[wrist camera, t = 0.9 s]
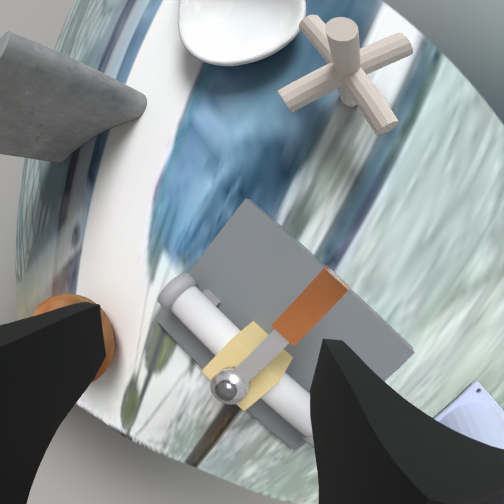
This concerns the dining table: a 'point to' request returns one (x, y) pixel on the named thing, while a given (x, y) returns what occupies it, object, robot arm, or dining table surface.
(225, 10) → the spoon rest
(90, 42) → the dining table surface
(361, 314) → the board
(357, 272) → the dining table surface
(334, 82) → the pipe connector
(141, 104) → the hip flask
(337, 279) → the valve lever
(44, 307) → the onion
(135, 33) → the dining table surface
